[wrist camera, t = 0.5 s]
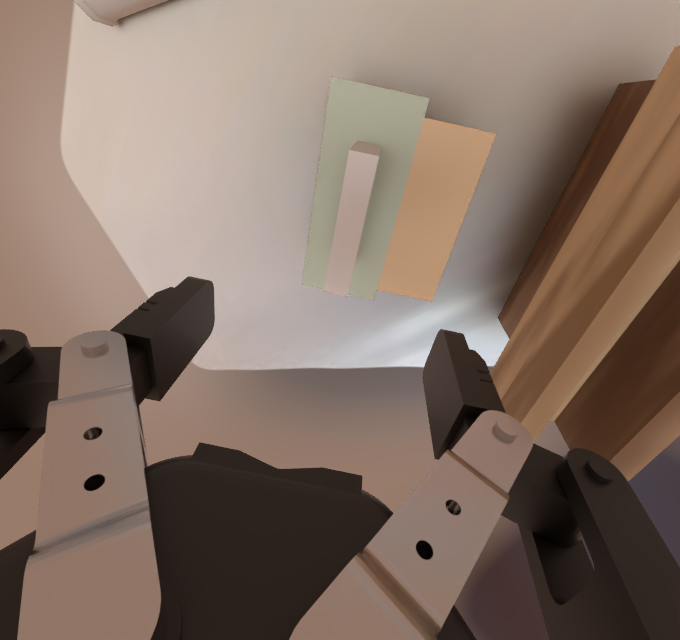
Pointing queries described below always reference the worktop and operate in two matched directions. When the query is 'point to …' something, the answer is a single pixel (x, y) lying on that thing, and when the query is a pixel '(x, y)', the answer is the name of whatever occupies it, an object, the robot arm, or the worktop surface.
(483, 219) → the worktop surface
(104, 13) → the tube
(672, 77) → the wall board
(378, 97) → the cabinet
